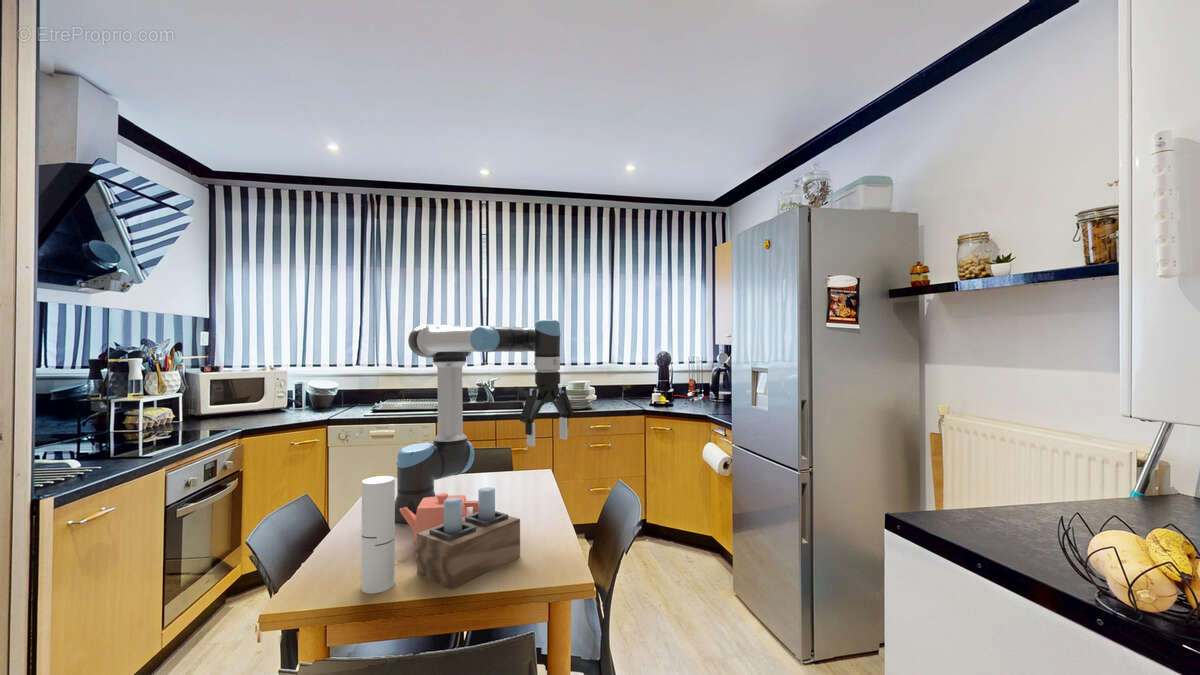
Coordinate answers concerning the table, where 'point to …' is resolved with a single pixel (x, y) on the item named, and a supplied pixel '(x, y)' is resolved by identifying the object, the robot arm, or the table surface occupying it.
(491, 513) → the peg rear
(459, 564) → the wooden peg block
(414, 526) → the teapot
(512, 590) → the table surface
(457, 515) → the peg front
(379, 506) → the cylindrical container
